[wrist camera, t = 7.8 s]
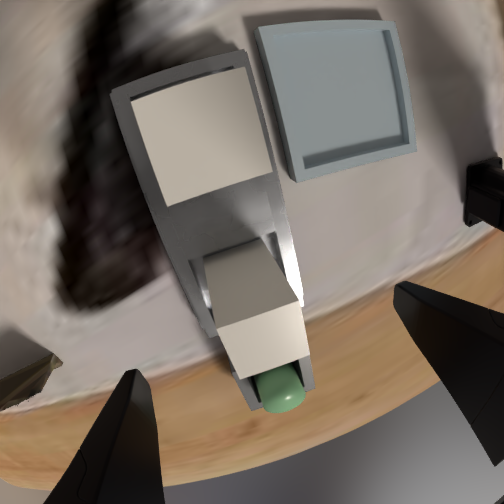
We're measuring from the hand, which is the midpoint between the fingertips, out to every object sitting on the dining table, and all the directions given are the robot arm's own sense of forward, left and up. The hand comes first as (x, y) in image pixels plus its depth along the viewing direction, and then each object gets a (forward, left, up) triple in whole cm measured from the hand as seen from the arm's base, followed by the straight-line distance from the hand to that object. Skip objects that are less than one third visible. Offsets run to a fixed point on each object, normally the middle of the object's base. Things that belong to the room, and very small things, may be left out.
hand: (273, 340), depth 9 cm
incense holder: (+33, +10, -12) cm, 36 cm away
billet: (0, -6, -11) cm, 12 cm away
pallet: (0, -1, -12) cm, 12 cm away
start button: (0, +14, -10) cm, 17 cm away
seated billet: (0, +4, -11) cm, 12 cm away
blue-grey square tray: (-10, -6, -12) cm, 17 cm away
